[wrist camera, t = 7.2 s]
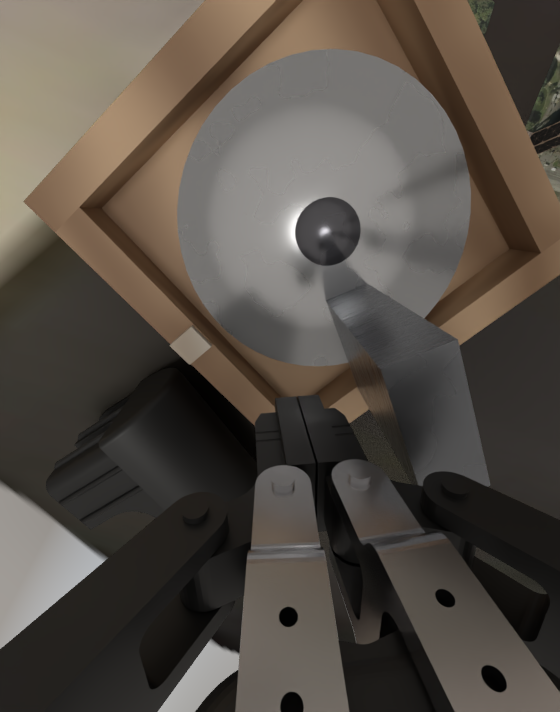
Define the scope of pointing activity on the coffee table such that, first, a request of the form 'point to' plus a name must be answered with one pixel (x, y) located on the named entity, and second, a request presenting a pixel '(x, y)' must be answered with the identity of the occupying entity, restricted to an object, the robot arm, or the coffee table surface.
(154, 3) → the coffee table surface
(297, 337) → the dial
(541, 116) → the eiffel tower figurine
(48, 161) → the coffee table surface
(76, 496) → the end cap
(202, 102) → the wooden square tray
